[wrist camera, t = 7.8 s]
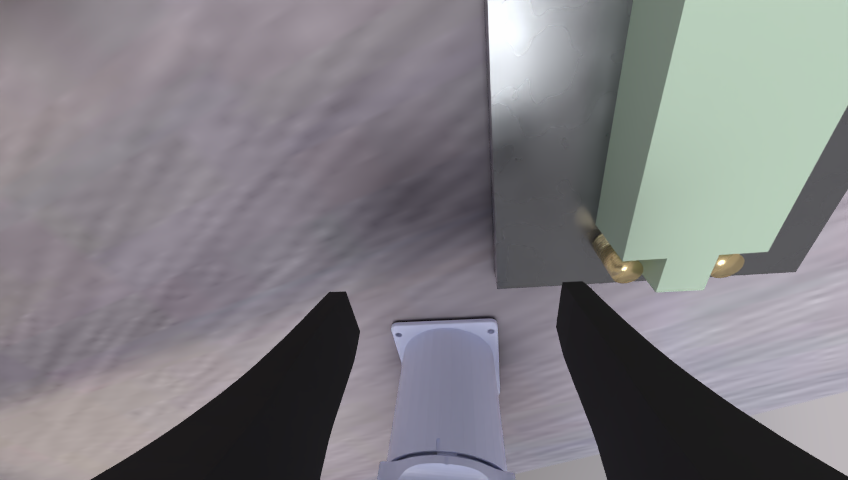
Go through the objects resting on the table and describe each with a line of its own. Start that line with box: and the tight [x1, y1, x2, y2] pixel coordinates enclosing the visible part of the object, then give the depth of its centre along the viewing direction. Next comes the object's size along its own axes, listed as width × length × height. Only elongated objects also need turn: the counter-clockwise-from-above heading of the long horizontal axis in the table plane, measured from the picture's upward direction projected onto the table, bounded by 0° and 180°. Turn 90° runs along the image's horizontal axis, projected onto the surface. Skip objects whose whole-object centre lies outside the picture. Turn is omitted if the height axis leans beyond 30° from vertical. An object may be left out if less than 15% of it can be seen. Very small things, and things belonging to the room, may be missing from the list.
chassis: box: [484, 0, 848, 289], centre depth 13 cm, size 18×16×4 cm
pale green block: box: [595, 0, 848, 292], centre depth 12 cm, size 14×6×3 cm, turn 9°
